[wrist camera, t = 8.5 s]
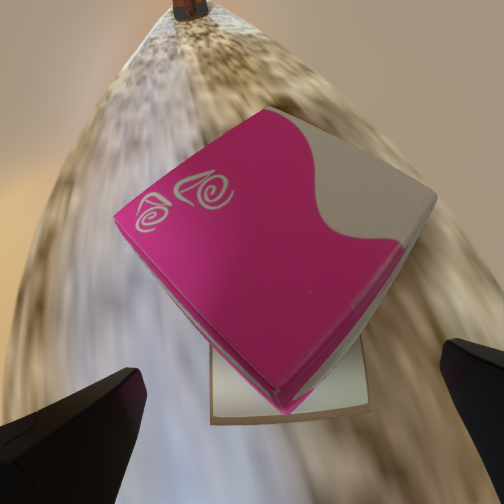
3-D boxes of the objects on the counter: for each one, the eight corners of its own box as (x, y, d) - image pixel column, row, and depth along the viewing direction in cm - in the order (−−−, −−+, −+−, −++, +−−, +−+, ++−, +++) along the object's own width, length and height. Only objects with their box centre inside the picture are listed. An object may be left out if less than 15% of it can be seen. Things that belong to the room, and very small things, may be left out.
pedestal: (364, 412, 16) (378, 410, 14) (215, 425, 17) (204, 425, 14) (345, 281, 21) (353, 259, 18) (214, 292, 21) (205, 272, 19)
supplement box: (280, 274, 18) (271, 97, 9) (359, 339, 16) (454, 197, 6) (206, 343, 17) (103, 210, 7) (285, 419, 14) (292, 411, 4)
